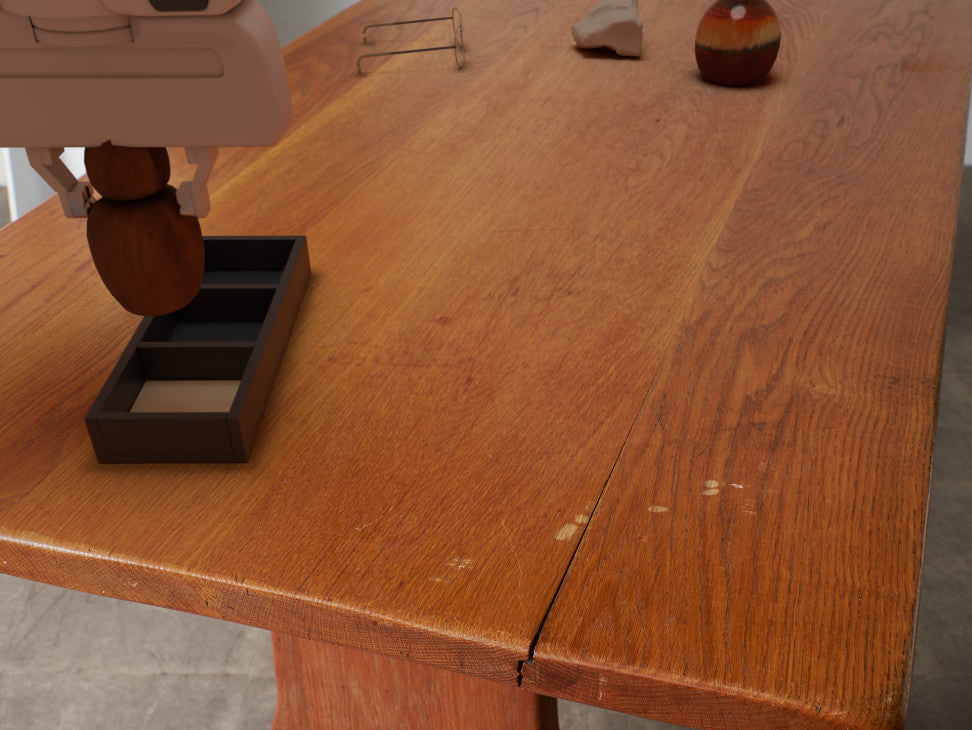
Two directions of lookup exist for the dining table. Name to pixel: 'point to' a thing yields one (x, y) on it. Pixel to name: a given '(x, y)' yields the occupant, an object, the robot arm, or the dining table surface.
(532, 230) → the dining table surface
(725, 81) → the vase
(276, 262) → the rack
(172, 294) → the wooden figurine
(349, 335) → the dining table surface
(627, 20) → the decorative stone
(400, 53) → the eyeglasses
